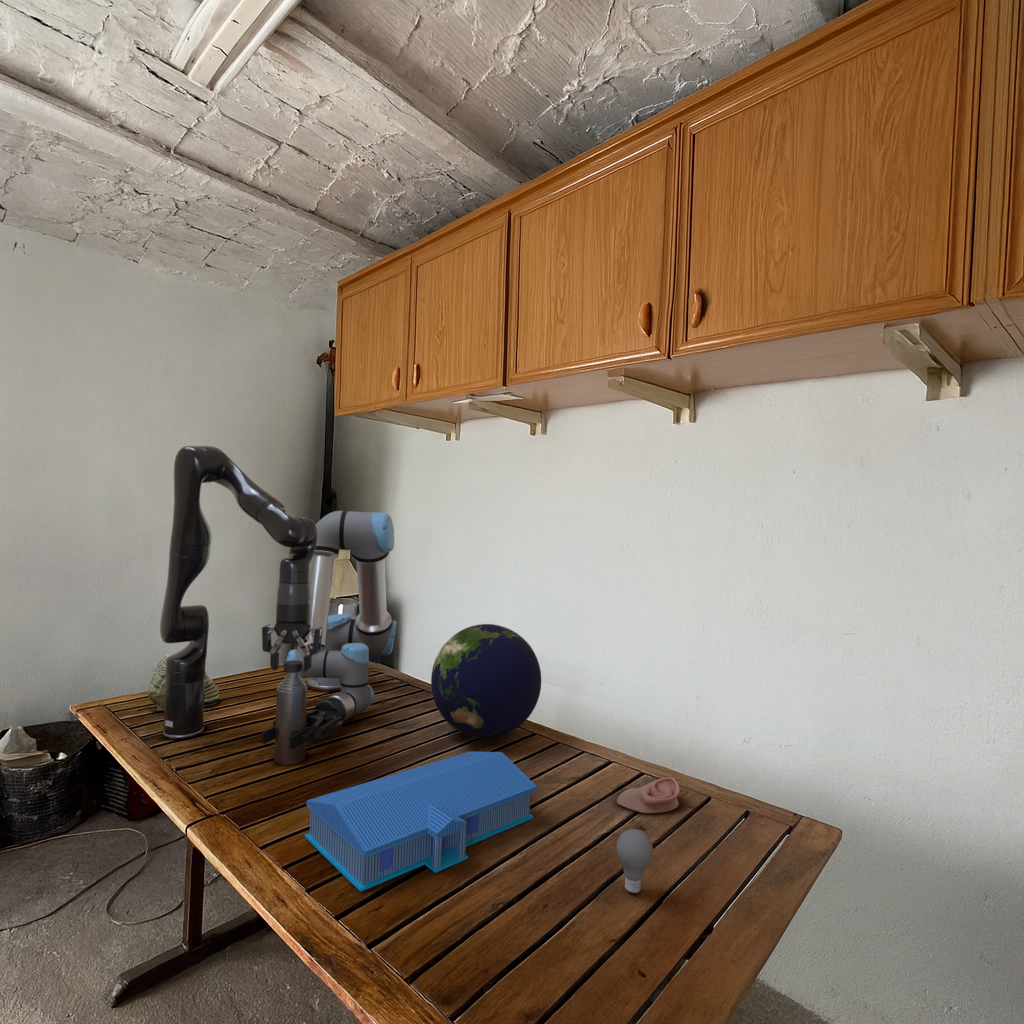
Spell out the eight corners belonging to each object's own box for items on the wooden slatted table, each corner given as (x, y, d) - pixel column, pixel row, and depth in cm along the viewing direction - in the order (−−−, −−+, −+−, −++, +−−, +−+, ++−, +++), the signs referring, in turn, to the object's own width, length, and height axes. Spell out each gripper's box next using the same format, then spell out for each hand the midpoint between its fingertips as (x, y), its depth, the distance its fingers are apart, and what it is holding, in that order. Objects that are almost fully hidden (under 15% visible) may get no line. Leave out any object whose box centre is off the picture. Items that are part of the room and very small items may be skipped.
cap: (301, 672, 150) (301, 664, 150) (282, 673, 149) (283, 664, 149) (302, 668, 154) (303, 660, 154) (284, 668, 153) (285, 660, 153)
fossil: (144, 707, 182) (145, 655, 182) (212, 696, 194) (213, 647, 194) (151, 716, 175) (153, 662, 175) (221, 703, 188) (223, 653, 188)
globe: (407, 742, 164) (412, 628, 164) (459, 709, 192) (464, 611, 192) (514, 765, 153) (519, 642, 153) (553, 726, 181) (558, 622, 180)
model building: (370, 901, 100) (373, 839, 100) (303, 836, 118) (305, 782, 118) (545, 824, 126) (547, 774, 126) (468, 780, 144) (470, 736, 144)
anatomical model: (616, 790, 133) (618, 768, 145) (615, 809, 133) (618, 785, 145) (681, 799, 131) (678, 776, 142) (680, 818, 131) (677, 793, 142)
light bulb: (610, 879, 108) (613, 822, 108) (644, 879, 109) (647, 822, 109) (619, 902, 102) (622, 840, 102) (655, 901, 103) (658, 840, 103)
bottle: (288, 767, 147) (292, 671, 147) (267, 760, 151) (271, 666, 150) (311, 757, 153) (314, 665, 153) (290, 750, 157) (294, 660, 156)
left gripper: (257, 602, 147) (254, 673, 147) (318, 604, 147) (316, 676, 147) (269, 597, 154) (267, 664, 155) (328, 599, 154) (325, 667, 155)
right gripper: (366, 730, 166) (312, 763, 144) (301, 719, 172) (241, 749, 150) (367, 701, 166) (313, 731, 144) (302, 691, 172) (242, 718, 150)
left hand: (290, 670), depth 151 cm, fingers open, 6 cm apart
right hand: (276, 740), depth 147 cm, fingers closed on bottle, 7 cm apart
